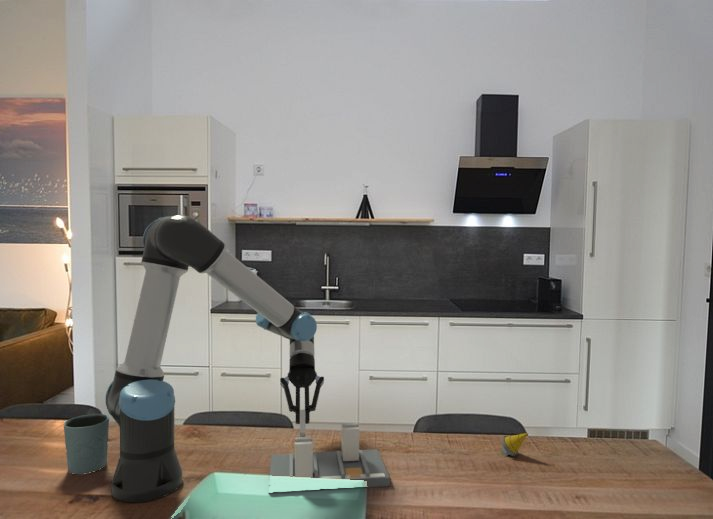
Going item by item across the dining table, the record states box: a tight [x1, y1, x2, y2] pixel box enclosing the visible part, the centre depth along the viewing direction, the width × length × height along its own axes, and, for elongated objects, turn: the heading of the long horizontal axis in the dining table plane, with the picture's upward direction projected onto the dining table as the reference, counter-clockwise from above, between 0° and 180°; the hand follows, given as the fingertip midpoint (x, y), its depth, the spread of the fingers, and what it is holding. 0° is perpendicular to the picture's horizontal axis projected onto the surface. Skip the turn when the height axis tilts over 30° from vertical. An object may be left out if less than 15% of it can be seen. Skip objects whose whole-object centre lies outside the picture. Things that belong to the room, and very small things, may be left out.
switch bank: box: [269, 448, 391, 488], centre depth 118 cm, size 28×16×3 cm, turn 98°
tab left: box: [294, 436, 314, 478], centre depth 113 cm, size 4×4×9 cm
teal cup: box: [63, 413, 110, 474], centre depth 121 cm, size 10×10×12 cm
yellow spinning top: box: [500, 432, 529, 457], centre depth 130 cm, size 5×5×10 cm
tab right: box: [341, 422, 360, 461], centre depth 122 cm, size 4×4×9 cm
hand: (302, 434), depth 128 cm, fingers closed
